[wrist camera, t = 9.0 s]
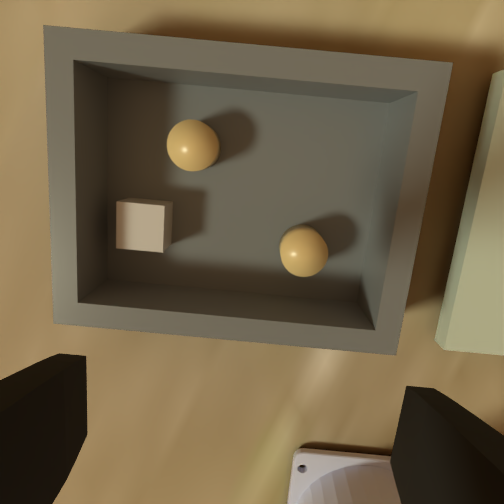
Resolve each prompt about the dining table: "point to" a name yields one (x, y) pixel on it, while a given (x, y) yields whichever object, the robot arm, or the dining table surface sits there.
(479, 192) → the lid
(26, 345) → the dining table surface
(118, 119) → the tub
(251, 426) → the dining table surface
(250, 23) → the dining table surface
